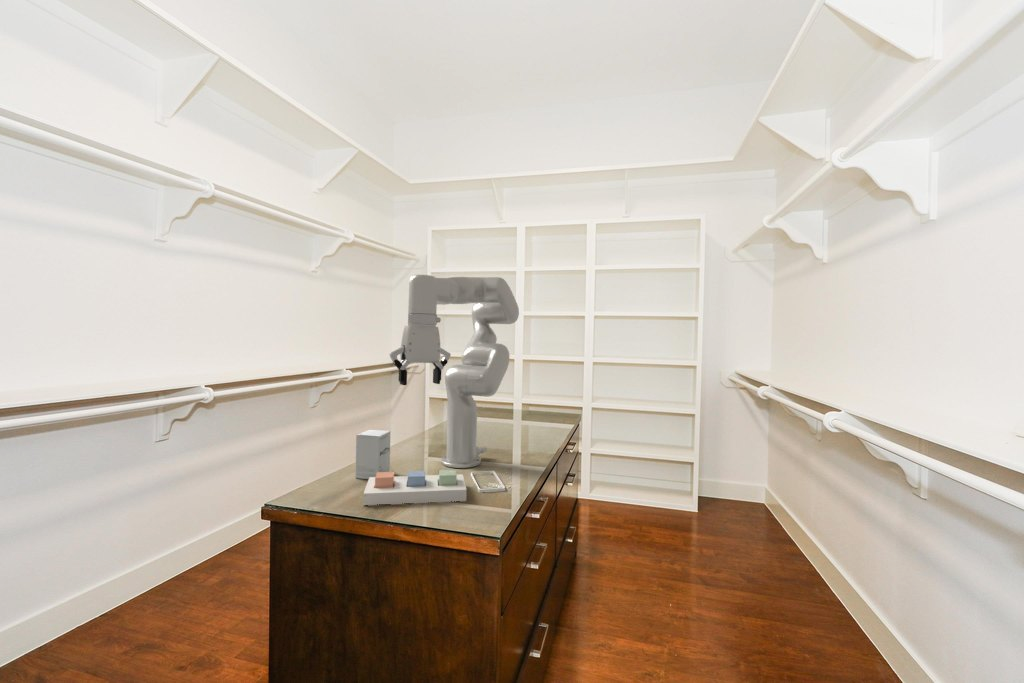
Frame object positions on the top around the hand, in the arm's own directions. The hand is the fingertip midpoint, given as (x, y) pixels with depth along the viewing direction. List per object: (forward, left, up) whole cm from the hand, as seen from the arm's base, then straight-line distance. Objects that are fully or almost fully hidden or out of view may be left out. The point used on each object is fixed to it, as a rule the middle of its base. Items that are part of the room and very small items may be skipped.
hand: (420, 384), depth 126 cm
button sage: (-2, +9, -26) cm, 28 cm away
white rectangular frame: (-16, +11, -29) cm, 35 cm away
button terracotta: (+10, 0, -26) cm, 28 cm away
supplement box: (+4, -16, -28) cm, 33 cm away
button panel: (+4, +5, -28) cm, 29 cm away
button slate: (+4, +5, -26) cm, 27 cm away
